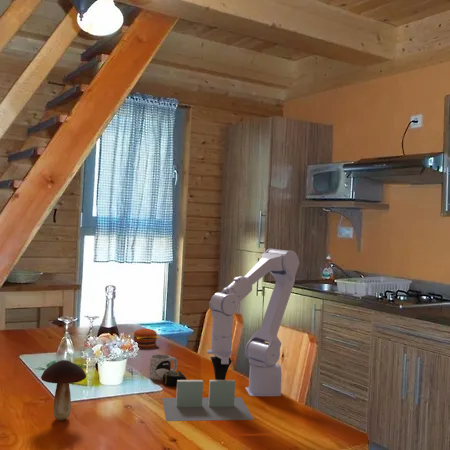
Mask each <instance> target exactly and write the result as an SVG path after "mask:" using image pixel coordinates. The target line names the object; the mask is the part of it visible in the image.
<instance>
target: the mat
mask: <svg viewBox="0 0 450 450" xmlns="http://www.w3.org/2000/svg"><path fill="white" fill-rule="evenodd" d="M161 399H162V406H163V410H164V417H165V421H166V422H189V421H191V422H193V421H194V422H198V421H199V422H200V421H206V422H207V421H254V420H255V418H254V416H253V415H252V414H251V412H250V410H249V408H248V406H247V405H246V404H245V401H244V400H243V398H242V397H241V396H240V397H239V396H238V397H237V396H235V398H234V406H233V407H209V405H208V402H209V397H202V407H176V397H162V398H161Z"/></svg>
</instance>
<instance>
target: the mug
mask: <svg viewBox="0 0 450 450" xmlns="http://www.w3.org/2000/svg"><path fill="white" fill-rule="evenodd" d="M149 358H150V359H149V379H151V380H154V381H163V375H164V373H165V372H167V371H176V372H177V368H178V359H177V357H174V356H171V355H170V354H169V355H168V354H163V353H157V354H156V353H155V354H152V355H150V357H149ZM172 361H173V362H174V363H173V368H172V369H171V367H172V365H171V364H172Z"/></svg>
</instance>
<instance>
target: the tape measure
mask: <svg viewBox="0 0 450 450" xmlns="http://www.w3.org/2000/svg"><path fill="white" fill-rule="evenodd" d="M177 380H188V379H187V377H186V375H185V374H183V373H182V371H177V370H176V371H167V372H165V373H164V375H163V380H162V382H163V384H165V386H169V387H177Z"/></svg>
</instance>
